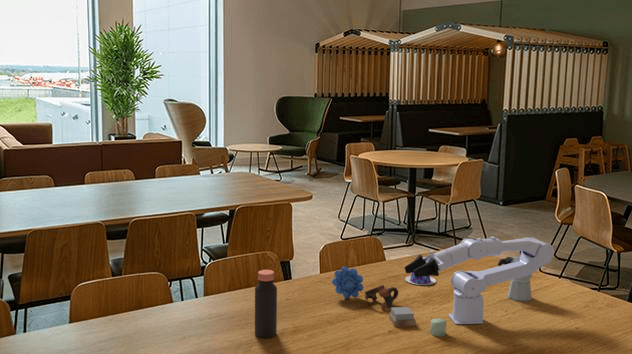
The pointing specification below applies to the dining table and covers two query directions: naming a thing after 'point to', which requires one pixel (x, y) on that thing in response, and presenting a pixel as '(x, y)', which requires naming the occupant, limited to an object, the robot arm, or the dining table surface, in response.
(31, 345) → the dining table surface
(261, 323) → the bottle
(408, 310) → the tower top
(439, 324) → the green cylinder
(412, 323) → the tower base
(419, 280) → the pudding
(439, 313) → the dining table surface
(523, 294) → the coffee maker
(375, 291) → the pottery mug
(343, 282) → the blue flower
